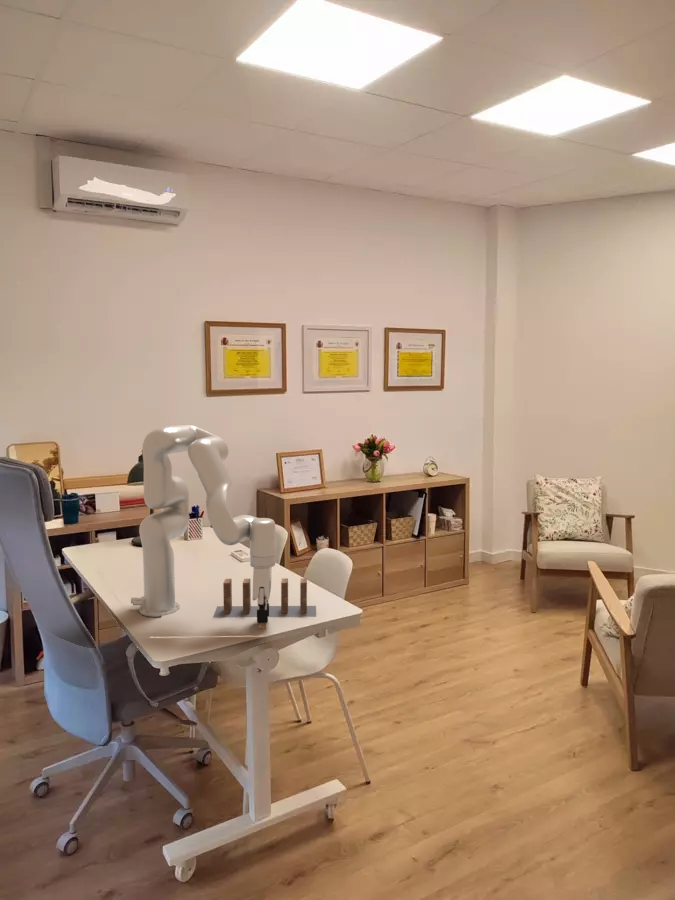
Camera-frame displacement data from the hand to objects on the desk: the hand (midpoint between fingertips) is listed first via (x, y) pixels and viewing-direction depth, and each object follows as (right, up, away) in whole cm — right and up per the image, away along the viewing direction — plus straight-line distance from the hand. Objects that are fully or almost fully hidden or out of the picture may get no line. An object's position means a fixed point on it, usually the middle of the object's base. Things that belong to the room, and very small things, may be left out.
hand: (263, 618), depth 207 cm
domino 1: (-12, -1, +12) cm, 17 cm away
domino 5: (+12, -1, +13) cm, 17 cm away
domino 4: (+6, -1, +12) cm, 14 cm away
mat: (0, -1, +12) cm, 12 cm away
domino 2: (-6, -1, +12) cm, 14 cm away
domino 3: (0, -2, 0) cm, 2 cm away
